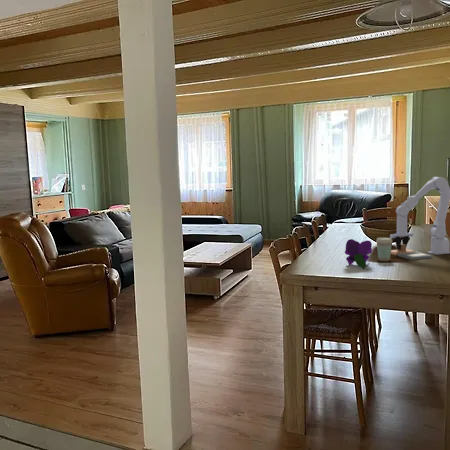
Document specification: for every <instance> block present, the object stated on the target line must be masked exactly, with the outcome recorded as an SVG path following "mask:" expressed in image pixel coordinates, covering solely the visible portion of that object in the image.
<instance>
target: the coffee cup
mask: <svg viewBox="0 0 450 450" xmlns="http://www.w3.org/2000/svg"><path fill="white" fill-rule="evenodd" d="M375 242H376V249H377V258H378V260H379V261H381V262H388V261H390V260H391V255H392V254H391V250H392V245H393V238H390V237H385V236H384V237H377V238H376V241H375Z"/></svg>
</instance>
